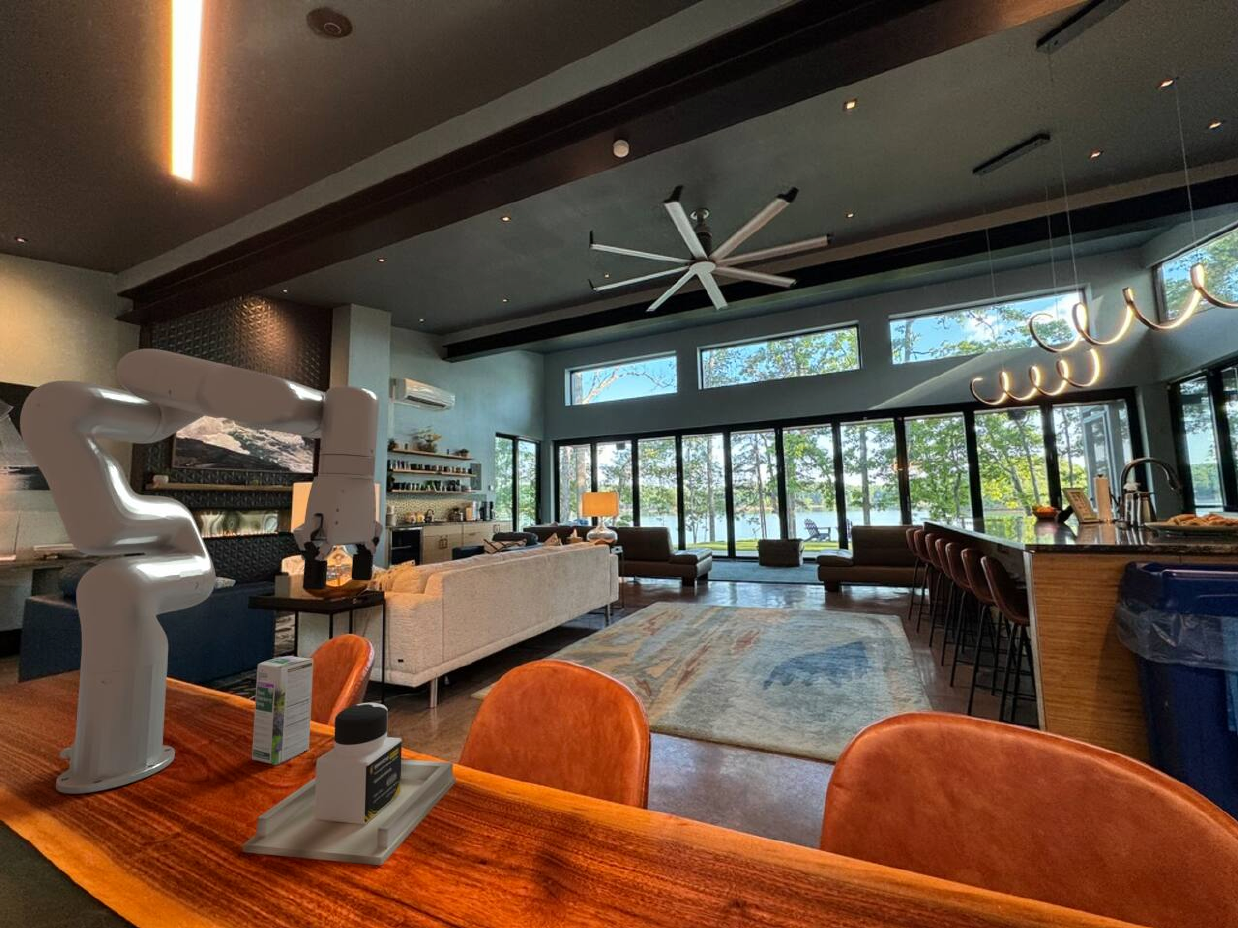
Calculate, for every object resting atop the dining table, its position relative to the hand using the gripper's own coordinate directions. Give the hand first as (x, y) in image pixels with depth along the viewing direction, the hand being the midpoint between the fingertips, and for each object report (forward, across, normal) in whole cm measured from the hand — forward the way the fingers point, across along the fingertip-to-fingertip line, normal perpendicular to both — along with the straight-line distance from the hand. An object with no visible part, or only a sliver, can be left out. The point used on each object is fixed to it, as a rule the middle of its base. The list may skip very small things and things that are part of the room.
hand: (339, 584), depth 76 cm
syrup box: (+28, -5, -12) cm, 31 cm away
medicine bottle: (+26, +7, +11) cm, 29 cm away
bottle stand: (+27, +7, +11) cm, 30 cm away
